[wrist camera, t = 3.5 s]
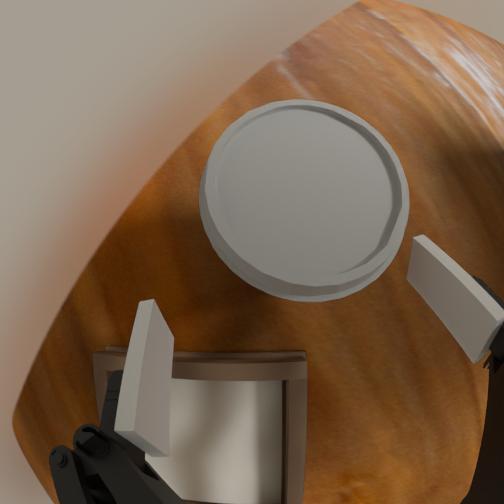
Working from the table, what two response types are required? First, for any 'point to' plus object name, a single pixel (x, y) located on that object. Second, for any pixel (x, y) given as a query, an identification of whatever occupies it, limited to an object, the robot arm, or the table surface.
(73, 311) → the table surface
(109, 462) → the robot arm
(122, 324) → the table surface
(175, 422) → the holder
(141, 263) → the table surface
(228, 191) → the disposable coffee cup
